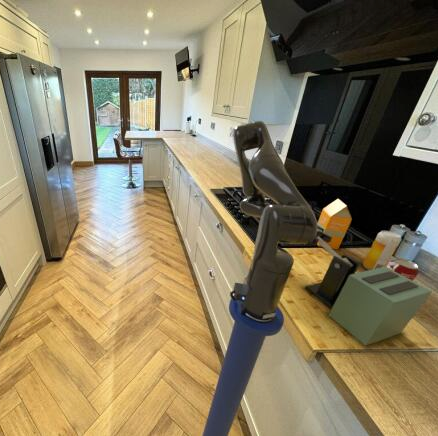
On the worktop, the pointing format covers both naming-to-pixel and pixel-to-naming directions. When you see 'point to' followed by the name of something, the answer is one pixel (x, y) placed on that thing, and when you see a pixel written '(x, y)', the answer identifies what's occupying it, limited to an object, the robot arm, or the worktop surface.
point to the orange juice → (335, 222)
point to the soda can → (404, 267)
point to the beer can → (381, 250)
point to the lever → (331, 249)
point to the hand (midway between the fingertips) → (323, 241)
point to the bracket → (333, 280)
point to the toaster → (377, 304)
